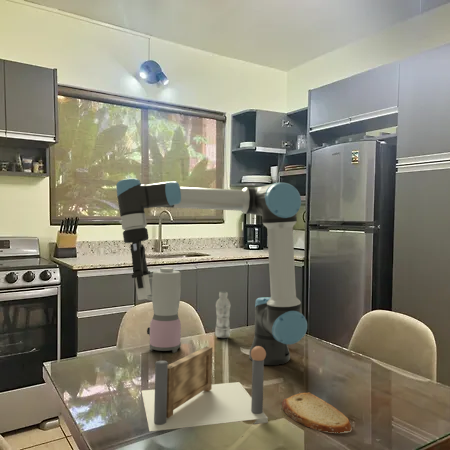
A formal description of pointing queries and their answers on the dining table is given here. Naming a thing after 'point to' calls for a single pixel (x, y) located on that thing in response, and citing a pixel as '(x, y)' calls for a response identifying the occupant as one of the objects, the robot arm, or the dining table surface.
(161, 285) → the blender
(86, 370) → the dining table surface
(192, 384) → the gate
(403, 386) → the dining table surface
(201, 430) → the dining table surface
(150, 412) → the gate frame
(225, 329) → the plastic bottle
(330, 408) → the slice of bread
